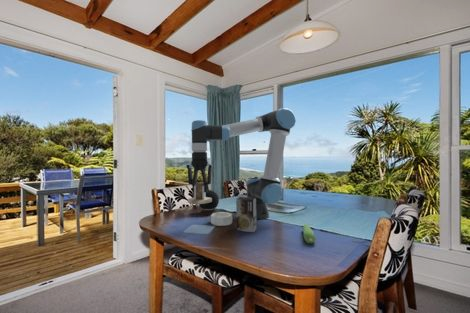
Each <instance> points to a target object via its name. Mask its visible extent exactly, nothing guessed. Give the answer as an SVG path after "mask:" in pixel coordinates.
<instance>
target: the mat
mask: <svg viewBox="0 0 470 313" xmlns="http://www.w3.org/2000/svg"><path fill="white" fill-rule="evenodd" d="M215 228H216V225H206V224H205V225H204V224H191V225H189V227H187V228H186V229H184V230H183V231H182V233H184V234H186V233H189V234H197V235H198V234H203V235H209V234H210V233H211V232H212V231H213V229H215Z"/></svg>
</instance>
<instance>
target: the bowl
mask: <svg viewBox="0 0 470 313" xmlns="http://www.w3.org/2000/svg"><path fill="white" fill-rule="evenodd" d="M210 223H211V225H212V226H219V227H220V226H221V227H224V226H230V225H231V224H232V223H233V213H230V212H227V211H226V212H223V211H220V212H218V211H217V213H213V214H212V215H211V216H210Z"/></svg>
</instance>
